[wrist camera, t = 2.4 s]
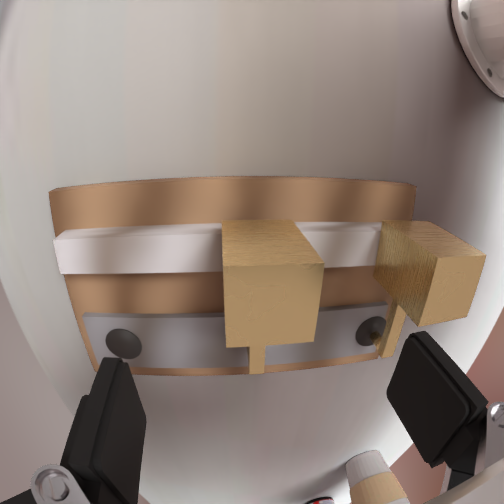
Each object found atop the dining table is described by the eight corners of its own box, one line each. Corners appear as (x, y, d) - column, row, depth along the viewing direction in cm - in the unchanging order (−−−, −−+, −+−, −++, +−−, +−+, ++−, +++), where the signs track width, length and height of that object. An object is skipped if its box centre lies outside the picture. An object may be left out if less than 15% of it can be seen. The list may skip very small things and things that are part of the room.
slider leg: (288, 215, 18) (324, 262, 12) (279, 350, 22) (298, 421, 16) (221, 216, 18) (223, 266, 12) (226, 353, 22) (230, 427, 16)
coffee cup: (342, 478, 39) (365, 547, 26) (326, 463, 36) (352, 546, 22) (393, 454, 38) (423, 521, 25) (385, 436, 35) (422, 516, 21)
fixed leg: (421, 217, 19) (486, 255, 13) (393, 336, 23) (432, 391, 17) (375, 216, 19) (437, 257, 13) (351, 342, 23) (386, 404, 17)
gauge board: (408, 183, 21) (432, 192, 18) (372, 350, 27) (386, 372, 24) (56, 188, 18) (34, 198, 15) (98, 362, 24) (88, 386, 21)
